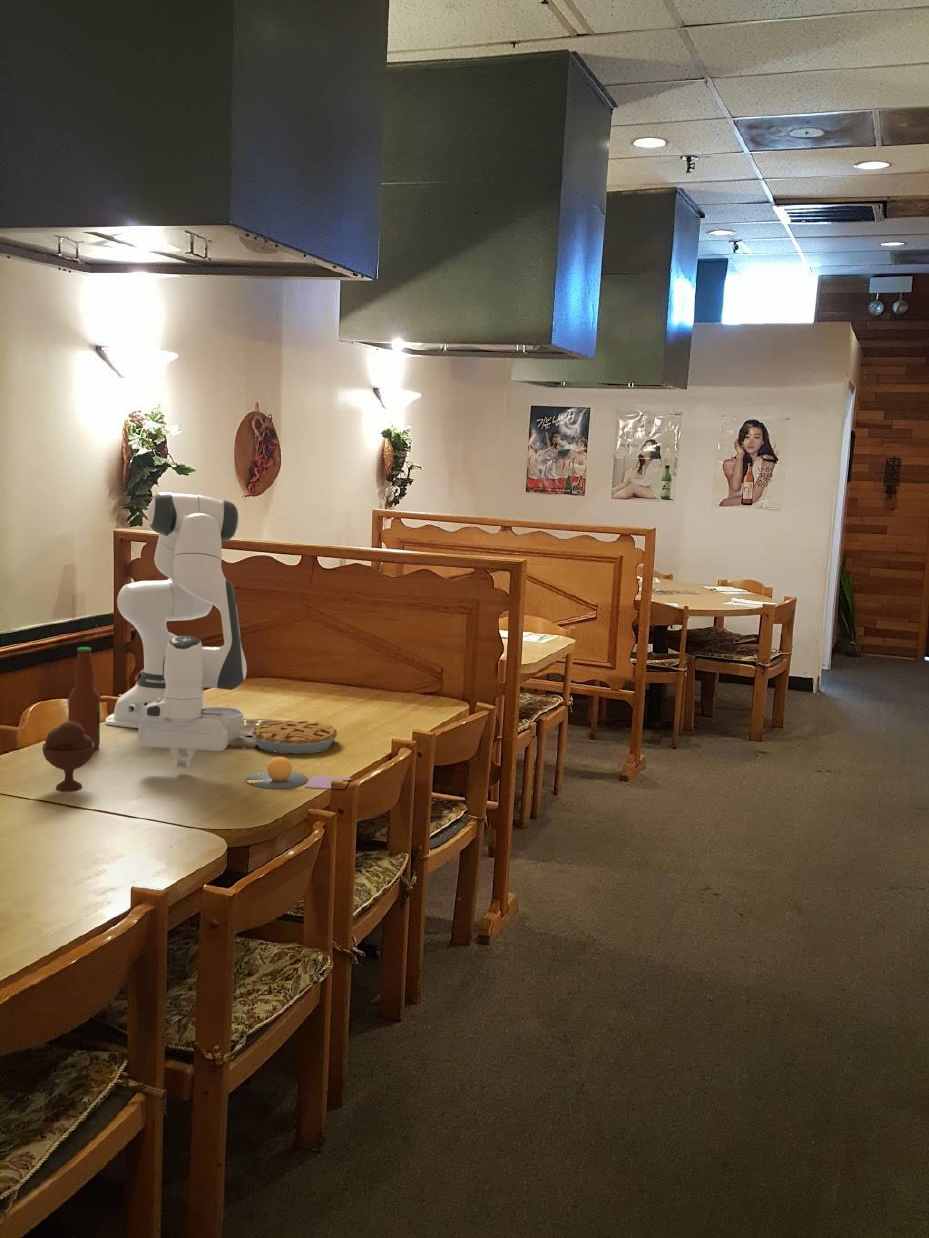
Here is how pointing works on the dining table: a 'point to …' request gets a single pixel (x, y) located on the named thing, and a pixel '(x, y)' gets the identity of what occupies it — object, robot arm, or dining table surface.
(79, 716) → the bottle
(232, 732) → the ramekin
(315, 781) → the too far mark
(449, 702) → the dining table surface
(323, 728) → the pie
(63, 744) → the ice cream bowl
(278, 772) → the ball
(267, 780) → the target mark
